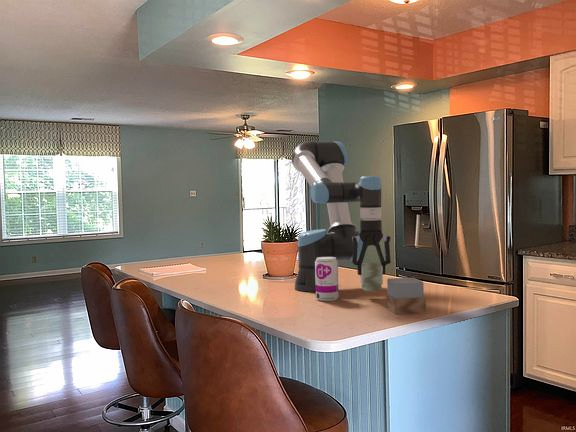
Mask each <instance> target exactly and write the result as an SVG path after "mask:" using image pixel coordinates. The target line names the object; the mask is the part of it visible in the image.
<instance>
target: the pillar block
mask: <svg viewBox="0 0 576 432" xmlns="http://www.w3.org/2000/svg"><path fill="white" fill-rule="evenodd" d="M362 266H364V285H362V284H361V289H362V290H363V291H364V292H376V291H379V292H380V291H381V292H382V290H383V287H382V285H383V284H382V265H381V263H380V262H362Z"/></svg>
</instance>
